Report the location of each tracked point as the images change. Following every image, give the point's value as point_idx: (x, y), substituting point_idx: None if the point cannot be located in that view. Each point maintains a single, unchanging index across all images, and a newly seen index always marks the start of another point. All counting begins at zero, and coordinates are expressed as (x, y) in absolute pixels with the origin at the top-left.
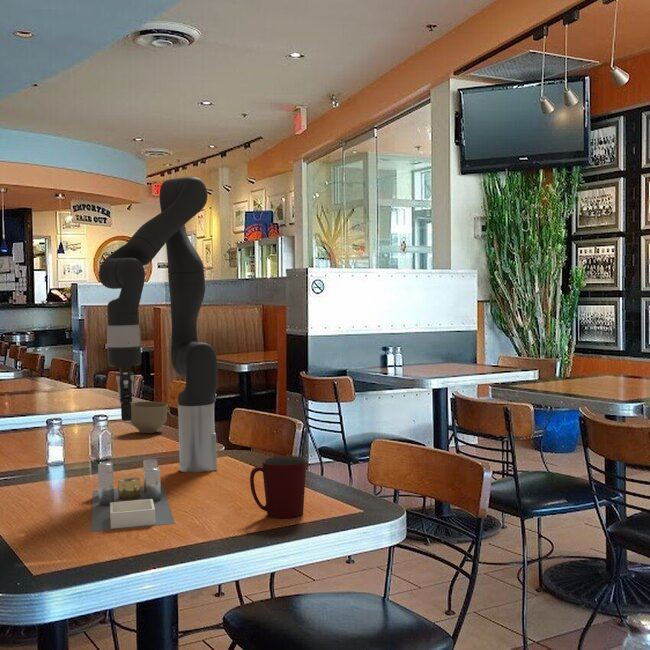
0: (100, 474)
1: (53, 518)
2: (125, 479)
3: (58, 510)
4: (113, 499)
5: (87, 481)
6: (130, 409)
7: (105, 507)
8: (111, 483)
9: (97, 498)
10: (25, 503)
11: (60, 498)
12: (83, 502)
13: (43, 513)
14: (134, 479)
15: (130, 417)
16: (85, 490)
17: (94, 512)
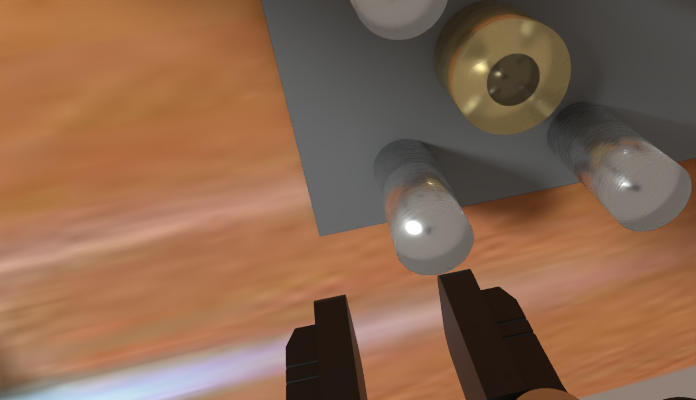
0: (677, 211)
1: (665, 268)
2: (504, 100)
3: (564, 281)
4: (599, 109)
5: (102, 299)
6: (504, 346)
7: (629, 124)
8: (650, 143)
9: (464, 188)
10: (434, 396)
11: (389, 318)
12: (473, 229)
13: (586, 313)
14: (517, 51)
15: (474, 287)
16: (271, 268)
17: (689, 150)
